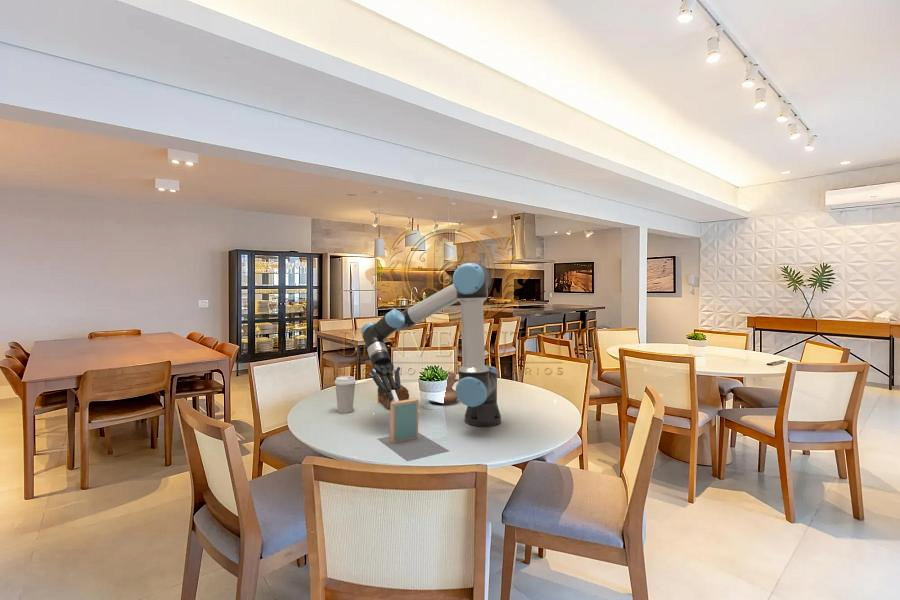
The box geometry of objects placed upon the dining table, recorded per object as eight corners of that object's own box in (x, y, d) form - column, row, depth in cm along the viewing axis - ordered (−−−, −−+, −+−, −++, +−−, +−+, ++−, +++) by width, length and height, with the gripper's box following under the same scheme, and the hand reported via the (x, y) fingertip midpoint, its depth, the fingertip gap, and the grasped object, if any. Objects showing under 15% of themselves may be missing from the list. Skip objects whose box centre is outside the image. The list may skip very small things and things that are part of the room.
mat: (376, 439, 156) (376, 438, 156) (415, 432, 165) (415, 431, 165) (407, 462, 136) (407, 461, 136) (449, 452, 145) (449, 451, 145)
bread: (409, 408, 198) (409, 386, 198) (387, 410, 194) (387, 388, 194) (397, 398, 215) (397, 379, 215) (376, 401, 211) (376, 380, 211)
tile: (390, 441, 154) (390, 402, 154) (414, 436, 159) (415, 398, 159) (393, 443, 152) (393, 404, 151) (418, 438, 157) (418, 400, 157)
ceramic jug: (427, 407, 200) (428, 376, 200) (424, 399, 215) (424, 370, 214) (465, 405, 203) (465, 375, 203) (459, 397, 218) (459, 369, 217)
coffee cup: (350, 414, 187) (350, 380, 187) (330, 413, 189) (330, 379, 189) (359, 408, 196) (359, 376, 196) (340, 407, 198) (340, 375, 198)
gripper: (391, 360, 179) (409, 409, 166) (361, 363, 172) (378, 414, 159) (396, 349, 175) (416, 398, 161) (366, 351, 168) (384, 403, 154)
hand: (397, 406), depth 160 cm, fingers closed
